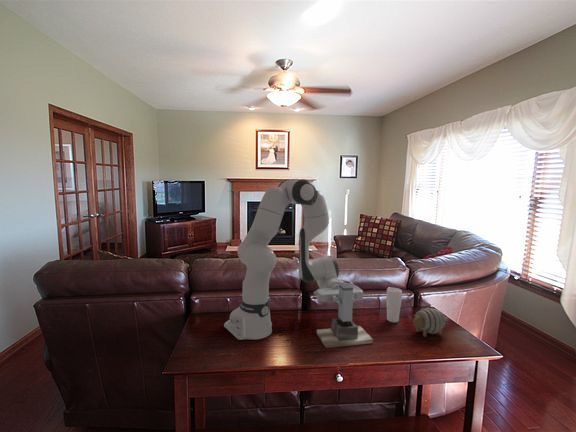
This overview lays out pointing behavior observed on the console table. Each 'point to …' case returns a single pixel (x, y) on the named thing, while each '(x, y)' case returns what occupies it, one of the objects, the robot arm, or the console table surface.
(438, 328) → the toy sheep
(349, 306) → the grey tall block
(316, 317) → the console table surface
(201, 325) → the console table surface
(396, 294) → the drinking glass
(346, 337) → the post socket
